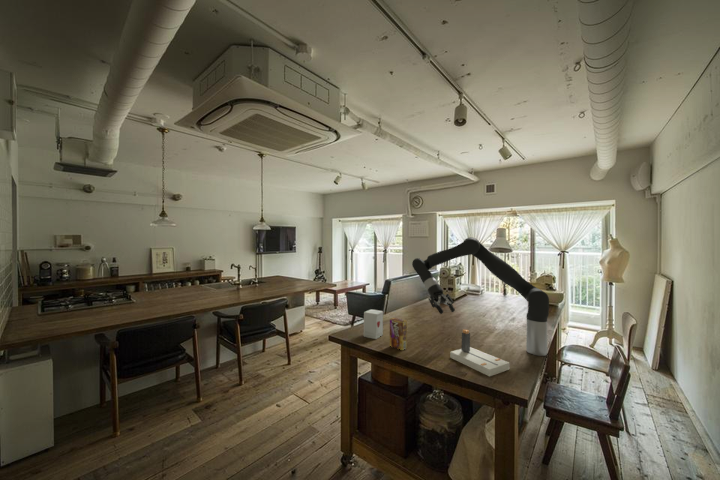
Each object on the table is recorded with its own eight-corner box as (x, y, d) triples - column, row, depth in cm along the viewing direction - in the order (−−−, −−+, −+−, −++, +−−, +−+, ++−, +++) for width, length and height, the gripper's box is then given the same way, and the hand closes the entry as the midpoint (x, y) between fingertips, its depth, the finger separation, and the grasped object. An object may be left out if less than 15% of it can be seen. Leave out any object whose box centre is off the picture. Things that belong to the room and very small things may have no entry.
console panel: (469, 352, 147) (469, 346, 147) (509, 369, 128) (509, 362, 128) (450, 357, 140) (450, 351, 140) (489, 376, 121) (489, 368, 121)
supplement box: (376, 339, 165) (376, 314, 165) (363, 336, 170) (363, 311, 170) (383, 335, 173) (383, 310, 173) (370, 332, 177) (370, 308, 177)
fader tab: (465, 349, 143) (465, 329, 143) (470, 351, 140) (470, 330, 140) (461, 350, 141) (461, 330, 141) (465, 352, 139) (466, 331, 139)
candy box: (407, 348, 151) (407, 320, 151) (402, 351, 148) (402, 322, 148) (393, 344, 158) (393, 317, 158) (389, 346, 154) (389, 318, 154)
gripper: (427, 284, 155) (442, 309, 145) (445, 282, 162) (461, 307, 152) (420, 292, 160) (434, 317, 150) (438, 290, 167) (453, 314, 157)
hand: (448, 312), depth 151 cm, fingers open, 8 cm apart
